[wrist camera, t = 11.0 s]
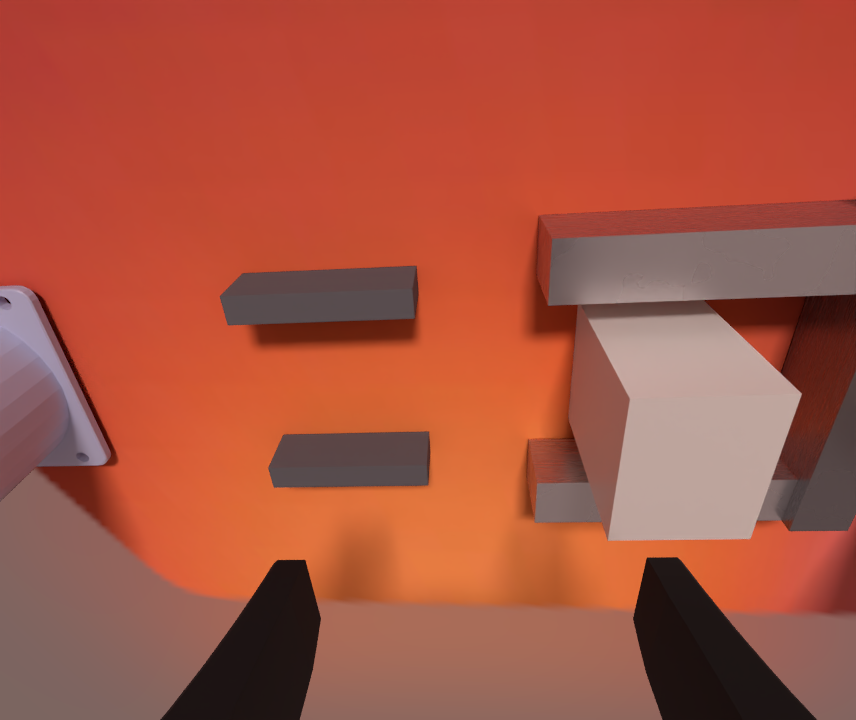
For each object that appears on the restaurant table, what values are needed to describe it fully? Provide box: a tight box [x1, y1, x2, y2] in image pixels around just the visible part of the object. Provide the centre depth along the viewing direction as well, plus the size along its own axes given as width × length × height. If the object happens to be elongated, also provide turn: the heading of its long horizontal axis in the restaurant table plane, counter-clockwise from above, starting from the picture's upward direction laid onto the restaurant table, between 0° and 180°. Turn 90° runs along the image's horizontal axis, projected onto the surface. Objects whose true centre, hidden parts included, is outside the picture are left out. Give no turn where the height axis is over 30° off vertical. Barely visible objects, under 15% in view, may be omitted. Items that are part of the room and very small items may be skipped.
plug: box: [568, 300, 802, 541], centre depth 16 cm, size 4×5×6 cm
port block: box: [527, 200, 856, 531], centre depth 17 cm, size 11×11×3 cm
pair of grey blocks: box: [220, 266, 430, 487], centre depth 19 cm, size 6×8×2 cm
